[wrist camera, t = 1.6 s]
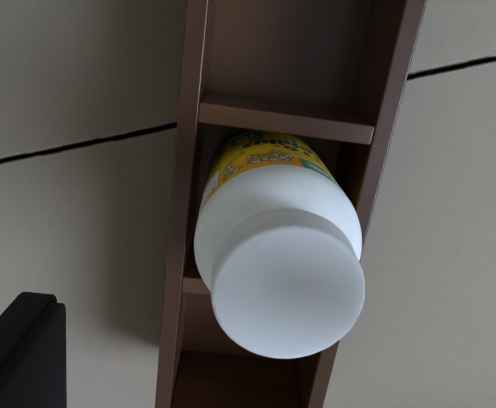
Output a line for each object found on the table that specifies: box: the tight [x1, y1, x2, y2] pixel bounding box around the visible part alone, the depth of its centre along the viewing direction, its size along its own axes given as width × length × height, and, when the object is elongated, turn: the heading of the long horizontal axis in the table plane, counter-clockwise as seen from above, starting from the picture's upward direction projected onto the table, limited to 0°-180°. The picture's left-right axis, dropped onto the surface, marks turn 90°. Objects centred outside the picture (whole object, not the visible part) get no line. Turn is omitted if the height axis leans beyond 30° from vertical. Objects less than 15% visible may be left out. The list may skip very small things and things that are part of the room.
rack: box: [155, 0, 427, 408], centre depth 18 cm, size 8×21×5 cm, turn 172°
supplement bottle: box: [194, 130, 365, 359], centre depth 15 cm, size 5×5×10 cm
